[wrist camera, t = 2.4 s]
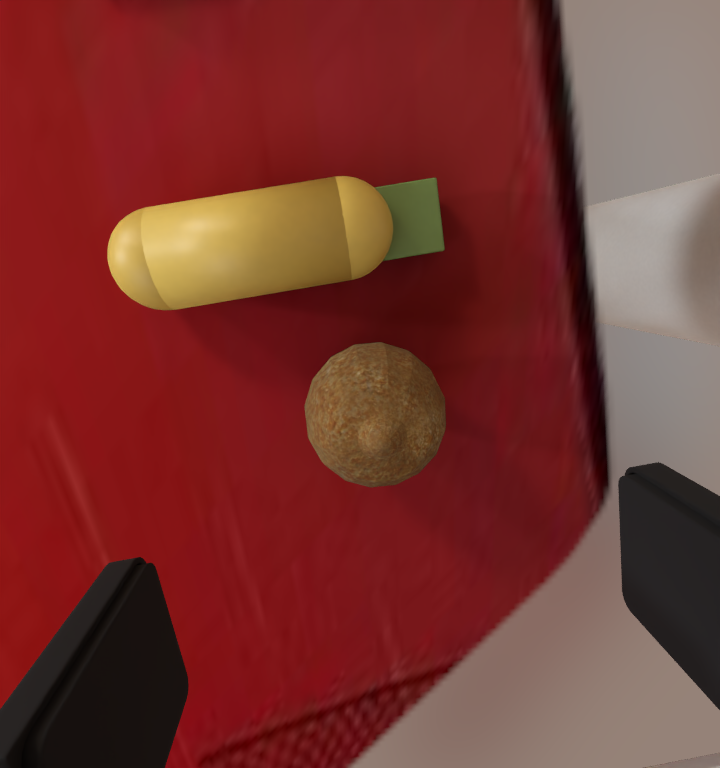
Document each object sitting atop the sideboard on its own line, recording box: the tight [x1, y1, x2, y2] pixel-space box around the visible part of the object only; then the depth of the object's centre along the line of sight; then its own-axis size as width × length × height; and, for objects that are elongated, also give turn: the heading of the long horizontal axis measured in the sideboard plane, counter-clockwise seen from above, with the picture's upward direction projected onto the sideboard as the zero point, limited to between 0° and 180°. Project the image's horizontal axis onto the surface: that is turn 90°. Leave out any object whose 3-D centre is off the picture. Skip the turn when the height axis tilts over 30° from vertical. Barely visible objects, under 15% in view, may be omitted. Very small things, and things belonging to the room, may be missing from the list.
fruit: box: [305, 342, 446, 487], centre depth 22 cm, size 6×6×8 cm
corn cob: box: [108, 176, 445, 310], centre depth 21 cm, size 15×4×4 cm, turn 99°
